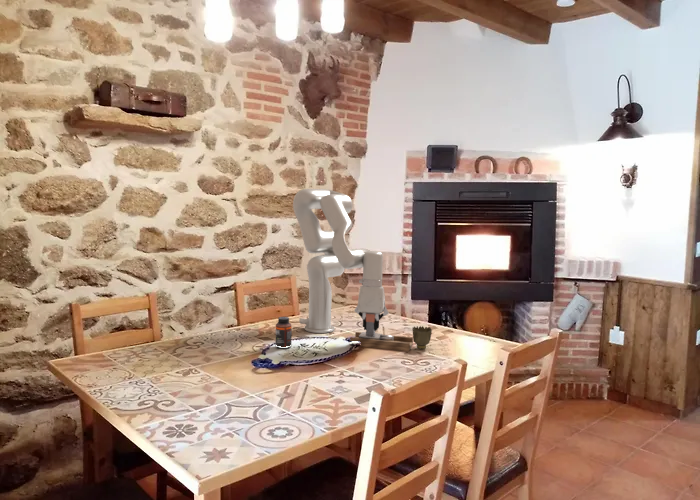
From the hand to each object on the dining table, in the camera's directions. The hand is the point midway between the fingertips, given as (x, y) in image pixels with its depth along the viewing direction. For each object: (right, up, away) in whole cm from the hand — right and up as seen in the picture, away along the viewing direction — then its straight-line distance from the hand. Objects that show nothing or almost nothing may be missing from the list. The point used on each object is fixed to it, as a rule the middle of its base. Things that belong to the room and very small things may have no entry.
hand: (370, 329), depth 218 cm
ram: (+2, -4, 0) cm, 5 cm away
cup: (+19, -7, -4) cm, 21 cm away
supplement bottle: (-33, -6, -8) cm, 35 cm away
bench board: (+4, -6, -1) cm, 7 cm away
